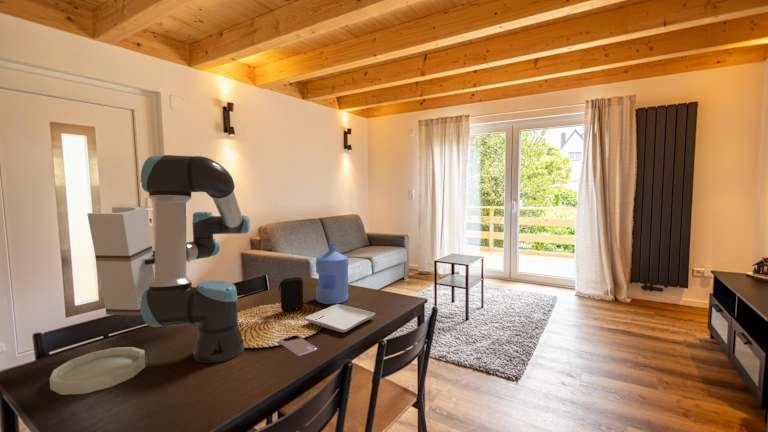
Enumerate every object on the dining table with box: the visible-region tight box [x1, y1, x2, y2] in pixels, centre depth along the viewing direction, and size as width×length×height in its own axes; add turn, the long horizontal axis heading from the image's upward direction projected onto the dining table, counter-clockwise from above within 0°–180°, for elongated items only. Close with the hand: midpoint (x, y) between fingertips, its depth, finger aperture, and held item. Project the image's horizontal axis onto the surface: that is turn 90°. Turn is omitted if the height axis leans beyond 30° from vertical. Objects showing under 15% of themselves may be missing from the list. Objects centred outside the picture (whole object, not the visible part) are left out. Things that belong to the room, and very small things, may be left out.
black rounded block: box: [278, 276, 304, 312], centre depth 155 cm, size 11×3×15 cm, turn 117°
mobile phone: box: [278, 334, 318, 357], centre depth 121 cm, size 8×1×15 cm
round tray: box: [49, 346, 146, 396], centre depth 102 cm, size 21×21×3 cm
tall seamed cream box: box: [86, 206, 155, 316], centre depth 119 cm, size 11×11×35 cm
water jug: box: [315, 242, 349, 305], centre depth 170 cm, size 16×16×28 cm
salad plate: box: [304, 303, 376, 333], centre depth 143 cm, size 21×21×3 cm
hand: (122, 262), depth 119 cm, fingers closed on tall seamed cream box, 12 cm apart
